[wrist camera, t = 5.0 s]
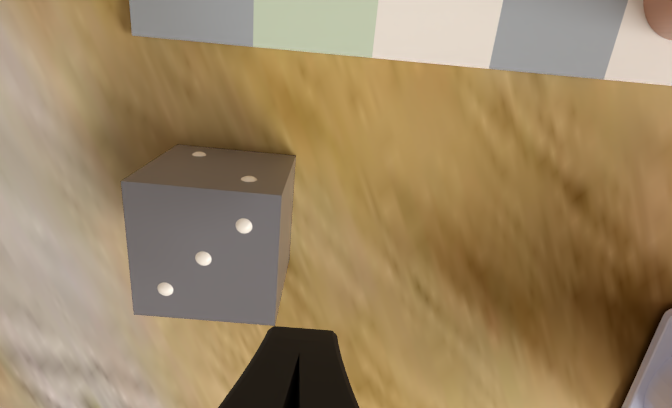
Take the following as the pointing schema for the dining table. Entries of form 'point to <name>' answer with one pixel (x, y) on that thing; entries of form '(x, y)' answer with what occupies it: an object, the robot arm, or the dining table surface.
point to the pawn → (659, 16)
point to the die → (209, 234)
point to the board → (432, 32)
